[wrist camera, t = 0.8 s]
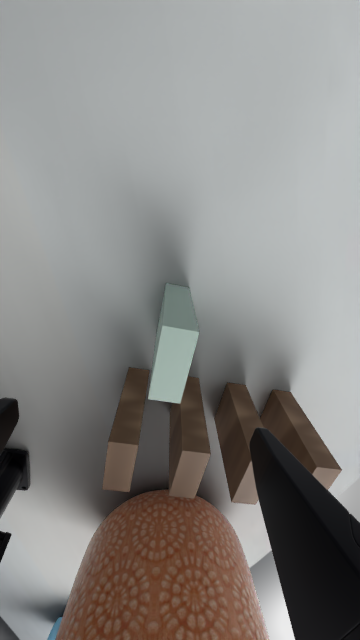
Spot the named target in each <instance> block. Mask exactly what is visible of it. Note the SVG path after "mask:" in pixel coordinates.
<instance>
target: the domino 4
mask: <svg viewBox="0 0 360 640" xmlns="http://www.w3.org/2000/svg"><path fill="white" fill-rule="evenodd" d="M214 419H215V424H216V429H217V434H218V439H219V444H220V449H221V453H222V458H223V463H224V468H225V473H226V478H227V483H228V488H229V492H230V497H231V502H234V503H244V504H254V505H256V503H257V501H258V499H259V498H258V494H257V490H256V485H255V479H254V473H253V467H252V461H251V454H250V448H249V443H250V440H251V437H252V435H253V433H254V430H255V428H257V427H261V428H264V427H263V425H262V423H261V420H260V418H259V415H258V413H257V411H256V408H255V406H254V404H253V401H252V399H251V397H250V394H249V392H248V390H247V387H246V385H241V384H234V383H228V382H227V384H226V387H225V390H224V392H223V395H222V398H221V401H220V404H219V407H218V410H217V413H216V415H215V418H214Z"/></svg>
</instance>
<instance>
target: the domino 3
mask: <svg viewBox="0 0 360 640" xmlns="http://www.w3.org/2000/svg"><path fill="white" fill-rule="evenodd" d="M210 455H211V452H210V446H209V439H208V433H207V427H206V421H205V415H204V408H203V402H202V396H201V390H200V384H199V378H196V377H189V376H188V377H187V381H186V384H185V388H184V392H183V395H182V399H181V403H180V404H179V403H172V406H171V410H170V436H169V496H174V497H184V498H195V496H196V493H197V490H198V487H199V485H200V482H201V479H202V477H203V474H204V471H205V469H206V466H207V463H208V460H209V458H210Z"/></svg>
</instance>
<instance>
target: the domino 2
mask: <svg viewBox="0 0 360 640" xmlns="http://www.w3.org/2000/svg"><path fill="white" fill-rule="evenodd" d="M198 336H199V328H198V323H197V319H196V315H195V310H194V306H193V302H192V297H191V293H190V289H189V287H184V286H179V285H174V284H168V283H166V287H165V292H164V297H163V302H162V307H161V313H160V318H159V323H158V328H157V334H156V341H155V348H154V356H153V364H152V372H151V379H150V387H149V395H148V399H151V400H158V401H165V402H172V403H179V404H180V403H181V399H182V395H183V392H184V388H185V384H186V381H187V377H188V373H189V369H190V366H191V362H192V358H193V354H194V351H195V347H196V343H197V340H198Z"/></svg>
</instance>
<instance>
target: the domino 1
mask: <svg viewBox="0 0 360 640" xmlns="http://www.w3.org/2000/svg"><path fill="white" fill-rule="evenodd" d="M148 377H149V370H144V369H138V368H131V367H129V370H128V373H127V377H126V380H125V384H124V387H123V391H122V395H121V398H120V402H119V405H118V409H117V412H116V416H115V419H114V423H113V427H112V430H111V434H110V437H109V441H108V448H107V455H106V463H105V471H104V479H103V486H102V489H103V490H113V491H123V492H129V490H130V485H131V480H132V475H133V470H134V465H135V460H136V455H137V450H138V445H139V438H140V432H141V425H142V418H143V411H144V404H145V397H146V391H147V384H148Z"/></svg>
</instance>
